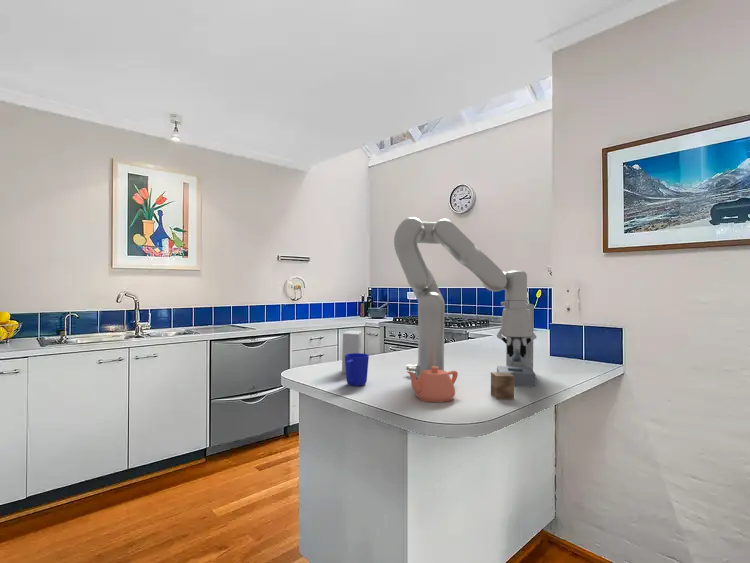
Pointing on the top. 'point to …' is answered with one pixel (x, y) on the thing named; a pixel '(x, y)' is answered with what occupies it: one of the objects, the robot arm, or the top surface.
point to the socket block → (520, 375)
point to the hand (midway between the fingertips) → (516, 355)
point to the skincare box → (350, 345)
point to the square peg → (502, 385)
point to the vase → (528, 358)
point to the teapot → (434, 385)
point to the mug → (356, 368)
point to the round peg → (516, 349)
